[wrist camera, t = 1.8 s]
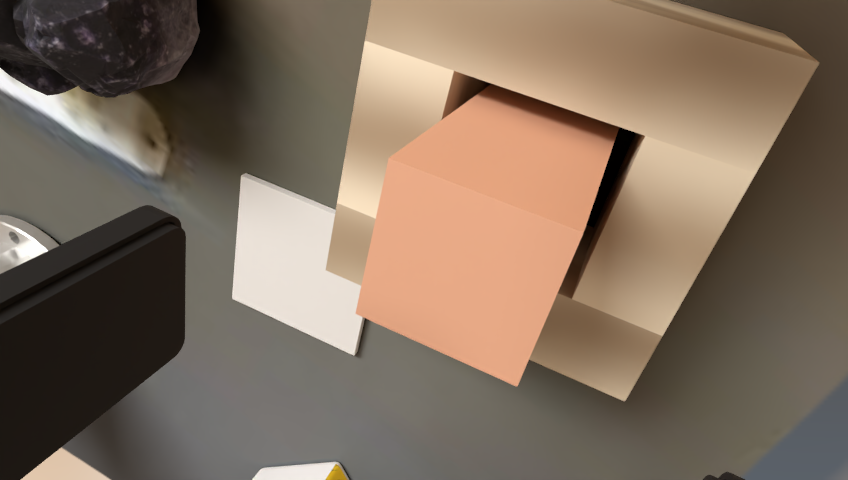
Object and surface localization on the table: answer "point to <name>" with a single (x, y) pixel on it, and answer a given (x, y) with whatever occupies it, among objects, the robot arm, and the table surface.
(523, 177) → the plug
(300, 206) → the mat
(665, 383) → the table surface
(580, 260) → the beige square frame
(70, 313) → the robot arm
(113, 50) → the crystal cluster
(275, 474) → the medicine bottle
